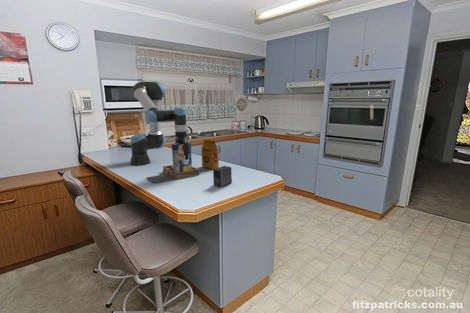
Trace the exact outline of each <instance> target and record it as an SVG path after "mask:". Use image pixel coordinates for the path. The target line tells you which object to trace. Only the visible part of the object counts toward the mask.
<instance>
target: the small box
mask: <svg viewBox="0 0 470 313" xmlns="http://www.w3.org/2000/svg"><path fill="white" fill-rule="evenodd" d="M212 174H213V186H215V187H218V188H223V187H225V186H228V185H230V184H232V183H233V182H232V175H233V174H232V166H227V165H223V166H219V168H216V169H212Z"/></svg>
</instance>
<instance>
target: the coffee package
mask: <svg viewBox="0 0 470 313" xmlns="http://www.w3.org/2000/svg"><path fill="white" fill-rule="evenodd" d="M219 160H220V158H219V149H218V146H217V142H216V140H215V139H209V138H203V143H202V146H201V167H202V168H203V167H204V168H206V169H210V170H213V169H216V168H219V167H220V166H219Z"/></svg>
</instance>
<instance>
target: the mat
mask: <svg viewBox="0 0 470 313" xmlns="http://www.w3.org/2000/svg"><path fill="white" fill-rule="evenodd" d="M146 179H147V180H148V181H149V182H150V183H152V184H154V185H155V184H160V183H161V184H162V183H165V182H171V181H176V179H175V178H173V177H171V176H170V175H168V174H166V173H163V174H158V175H153V176H146Z"/></svg>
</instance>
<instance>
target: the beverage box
mask: <svg viewBox="0 0 470 313" xmlns="http://www.w3.org/2000/svg"><path fill="white" fill-rule="evenodd" d="M182 145H184V144H182ZM182 145H181V144H179V143H176V144H175V143H171V151H172V152H171V154H172V165H173V171H174V172H175V173H180V172H186V171H191V170H192V167H193V164H192V159H193V158H192V143H191V142H188V147H189V152H190V154H189V155H188V164H186V165H184V151H183V147H182Z"/></svg>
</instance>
